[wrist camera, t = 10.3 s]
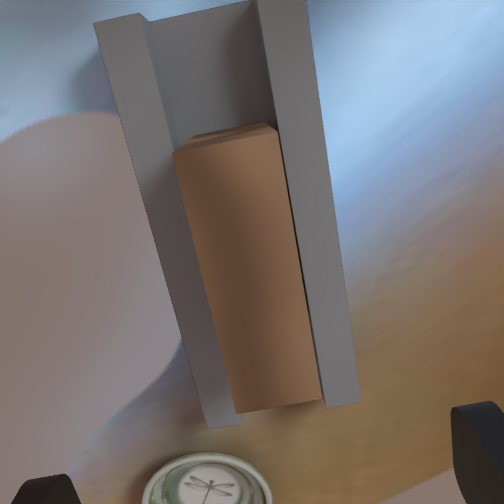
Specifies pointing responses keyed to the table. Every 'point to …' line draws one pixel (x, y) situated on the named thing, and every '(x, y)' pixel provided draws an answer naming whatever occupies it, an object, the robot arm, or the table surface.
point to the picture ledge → (223, 117)
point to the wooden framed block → (249, 264)
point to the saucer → (207, 481)
